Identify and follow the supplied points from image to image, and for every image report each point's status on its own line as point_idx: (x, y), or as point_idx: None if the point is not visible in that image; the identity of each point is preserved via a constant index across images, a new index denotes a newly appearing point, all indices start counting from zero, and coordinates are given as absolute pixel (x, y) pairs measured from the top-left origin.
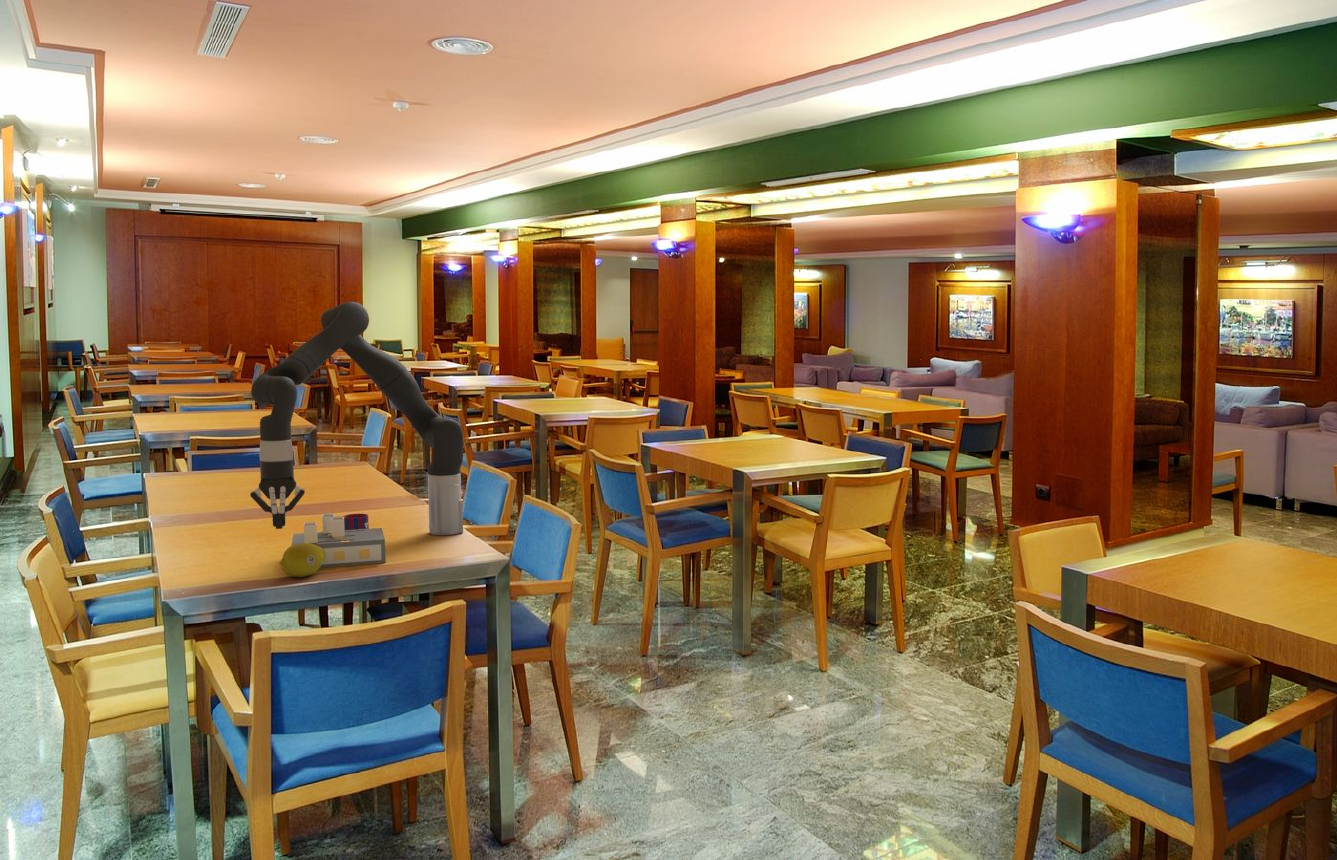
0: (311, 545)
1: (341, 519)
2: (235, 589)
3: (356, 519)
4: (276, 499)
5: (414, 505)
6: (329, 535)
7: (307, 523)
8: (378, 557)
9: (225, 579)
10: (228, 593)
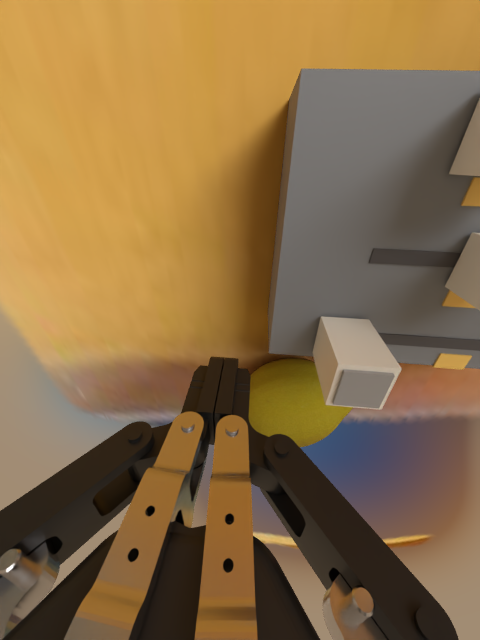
0: (318, 440)
1: None
2: (165, 405)
3: None
4: (179, 505)
5: None
6: (461, 219)
7: (350, 388)
8: None
9: (124, 336)
10: (159, 420)
